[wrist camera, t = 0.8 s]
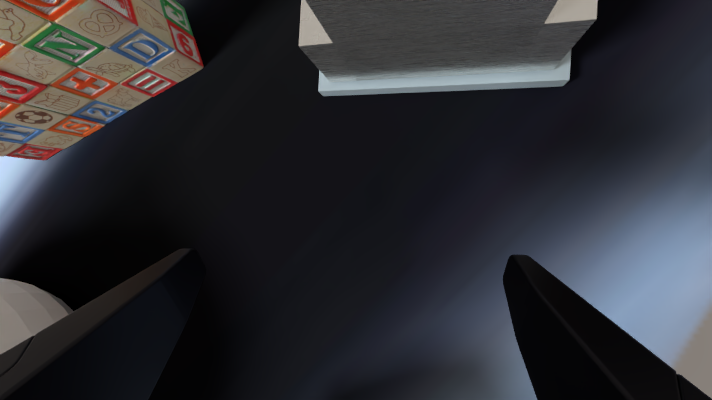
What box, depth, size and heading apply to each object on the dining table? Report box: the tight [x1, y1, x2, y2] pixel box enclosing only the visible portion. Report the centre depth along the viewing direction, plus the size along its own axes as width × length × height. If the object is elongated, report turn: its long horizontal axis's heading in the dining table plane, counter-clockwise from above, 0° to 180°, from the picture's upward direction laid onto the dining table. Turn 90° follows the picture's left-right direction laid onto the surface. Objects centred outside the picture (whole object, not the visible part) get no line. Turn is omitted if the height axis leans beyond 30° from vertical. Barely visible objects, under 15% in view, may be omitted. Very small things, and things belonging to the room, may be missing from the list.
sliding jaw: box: [299, 0, 598, 82], centre depth 15 cm, size 4×14×9 cm, turn 87°
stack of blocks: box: [0, 0, 204, 160], centre depth 23 cm, size 21×6×12 cm, turn 111°
